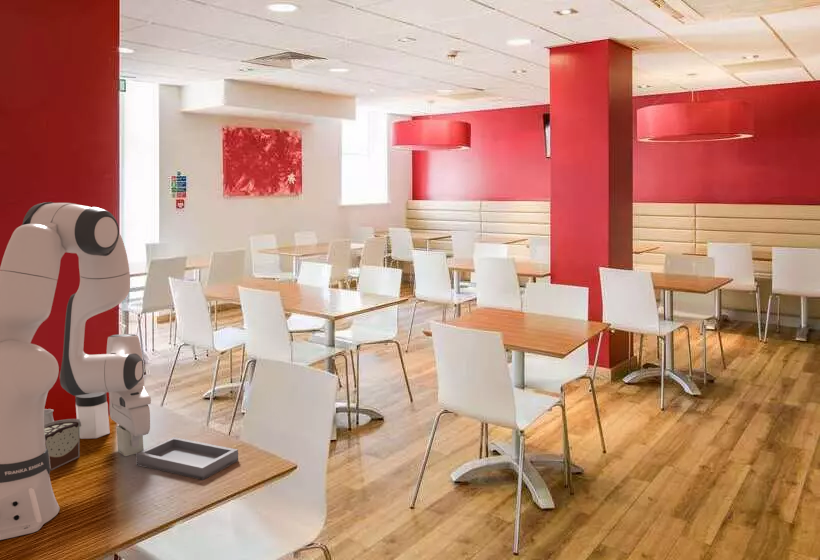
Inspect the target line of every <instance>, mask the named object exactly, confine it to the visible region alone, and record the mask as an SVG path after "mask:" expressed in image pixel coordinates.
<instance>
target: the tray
mask: <svg viewBox="0 0 820 560" xmlns="http://www.w3.org/2000/svg"><path fill="white" fill-rule="evenodd" d="M135 457H136V466H141V467H144V468H149V469H153V470H158V471H162V472H166V473H171V474H176V475H179V476H184V477H188V478H193V479H196V480H201V481H204V480H206V479H208V478H209V477H211V476H213V475H215V474H217V473H219V472H220V471H222V470H224V469H226V468H228V467H229V466H231V465H233V464H235V463H237V462H238V461H239V449H238V448H232V447H227V446H222V445H215V444H211V443H206V442H201V441H197V440H196V441H195V440H191V439H186V438H179V437H175V436H173V437H170V438H169V439H166V440H164V441H161V442H159V443H157V444H155V445H153V446H150V447H148V448H146V449H144V450H143V451H141V452H139V453H136V454H135Z"/></svg>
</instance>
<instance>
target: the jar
mask: <svg viewBox="0 0 820 560" xmlns="http://www.w3.org/2000/svg"><path fill="white" fill-rule="evenodd" d="M74 397H75V398H74V400H75V413H76V415H75V416H76V419H79V420H80V422H81V426H80V436H79V440H80V439H81V440H83V439H87V440H88V439H90V440H91V439H98V438H101V437H103V436H106V435H109V434H110V421H109V416H110V415H109V404H108V401H107V392H104V393H89V394H84V395H77V396H74Z"/></svg>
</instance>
